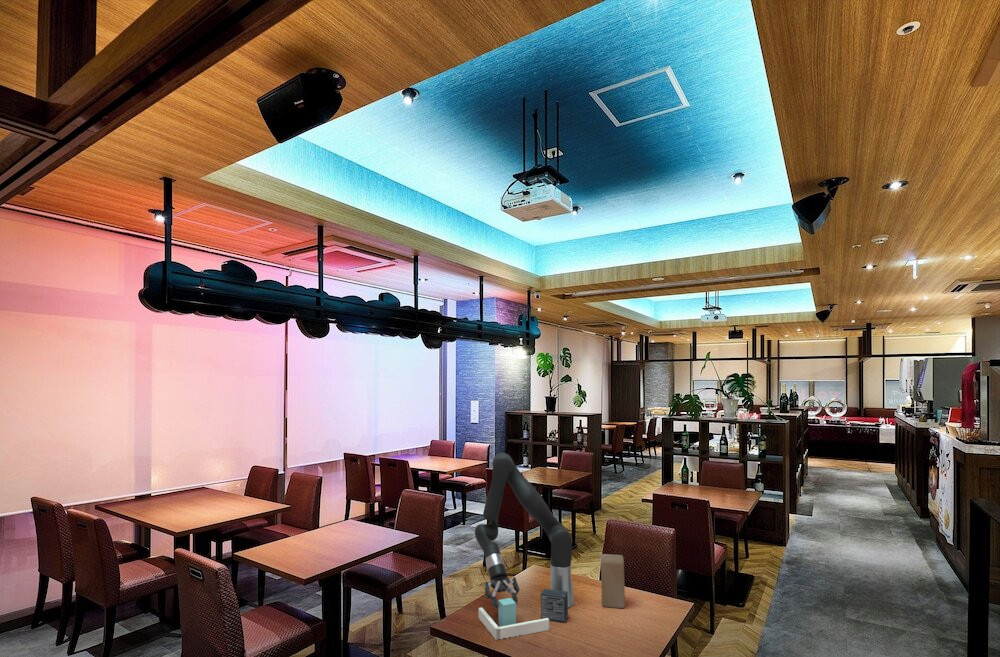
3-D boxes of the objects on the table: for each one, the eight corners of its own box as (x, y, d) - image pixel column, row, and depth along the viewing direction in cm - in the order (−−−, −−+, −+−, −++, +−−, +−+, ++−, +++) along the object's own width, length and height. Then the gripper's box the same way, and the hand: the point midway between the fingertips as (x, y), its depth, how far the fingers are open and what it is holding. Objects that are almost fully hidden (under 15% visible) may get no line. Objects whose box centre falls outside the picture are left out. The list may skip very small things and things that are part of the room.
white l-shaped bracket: (527, 609, 232) (527, 599, 232) (549, 630, 212) (549, 619, 213) (478, 617, 223) (478, 608, 224) (496, 640, 204) (496, 629, 204)
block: (625, 609, 231) (623, 561, 233) (601, 607, 233) (600, 560, 235) (624, 600, 241) (623, 554, 243) (602, 598, 243) (601, 553, 245)
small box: (568, 616, 224) (568, 590, 225) (565, 623, 218) (565, 596, 219) (544, 613, 228) (544, 587, 229) (540, 619, 222) (540, 593, 223)
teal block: (510, 623, 218) (510, 597, 219) (516, 629, 213) (516, 603, 214) (498, 625, 216) (498, 599, 217) (503, 631, 211) (503, 605, 212)
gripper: (482, 565, 223) (492, 604, 211) (513, 560, 228) (524, 598, 217) (478, 574, 227) (487, 613, 216) (508, 569, 233) (519, 607, 221)
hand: (506, 605), depth 216 cm, fingers open, 8 cm apart
